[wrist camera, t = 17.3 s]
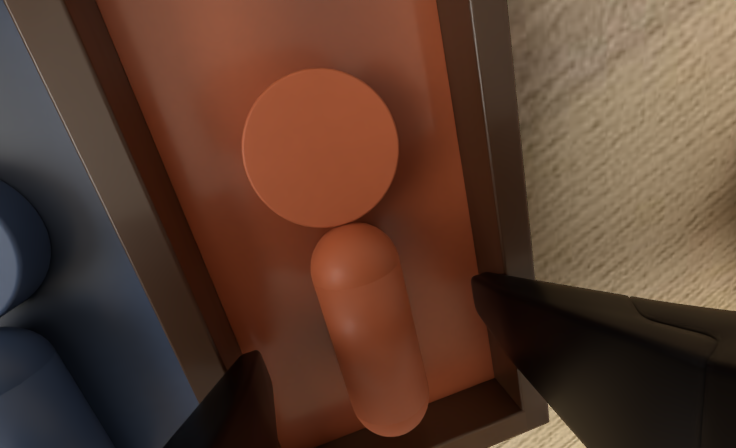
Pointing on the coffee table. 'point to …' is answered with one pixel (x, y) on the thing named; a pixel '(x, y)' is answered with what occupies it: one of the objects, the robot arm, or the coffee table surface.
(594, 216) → the coffee table surface
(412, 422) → the terracotta spoon
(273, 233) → the cutlery tray
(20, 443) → the blue spoon
